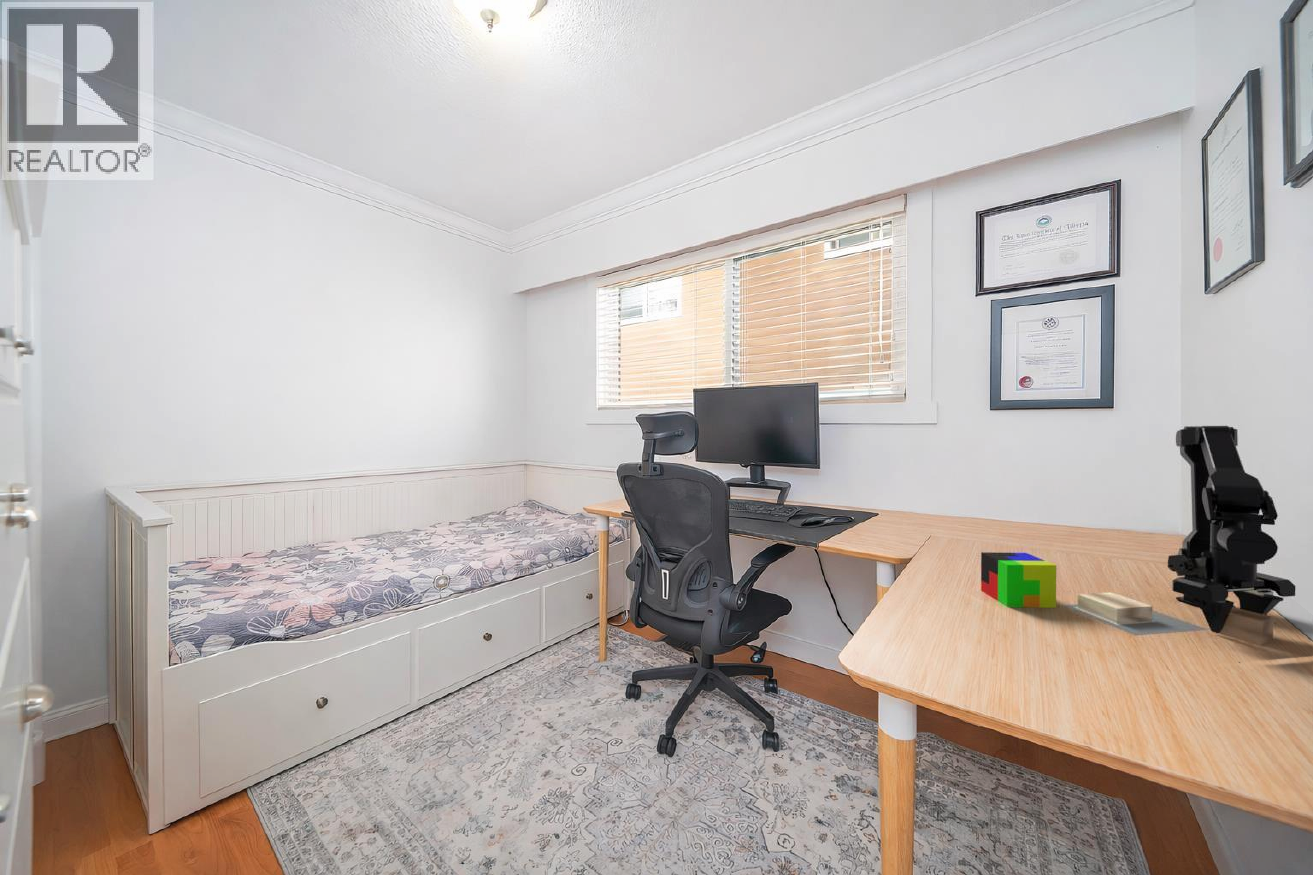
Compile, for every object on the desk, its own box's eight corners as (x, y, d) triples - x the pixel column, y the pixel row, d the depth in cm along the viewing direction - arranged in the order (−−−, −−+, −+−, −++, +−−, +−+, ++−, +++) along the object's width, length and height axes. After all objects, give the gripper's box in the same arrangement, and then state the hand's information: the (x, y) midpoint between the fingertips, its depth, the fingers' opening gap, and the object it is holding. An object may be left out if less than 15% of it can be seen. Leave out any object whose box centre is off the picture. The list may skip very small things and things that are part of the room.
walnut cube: (1232, 632, 93) (1232, 607, 93) (1272, 643, 89) (1273, 616, 88) (1219, 637, 91) (1220, 611, 91) (1260, 649, 87) (1260, 621, 87)
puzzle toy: (1025, 594, 115) (1025, 552, 115) (1055, 610, 105) (1056, 565, 105) (981, 593, 116) (981, 552, 116) (1006, 609, 106) (1007, 564, 106)
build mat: (1125, 603, 108) (1125, 600, 108) (1209, 632, 93) (1209, 629, 93) (1060, 607, 106) (1060, 605, 106) (1135, 638, 92) (1135, 635, 92)
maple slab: (1110, 605, 105) (1111, 592, 105) (1152, 620, 98) (1152, 606, 97) (1077, 608, 105) (1078, 594, 105) (1116, 623, 97) (1117, 608, 97)
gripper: (1222, 536, 100) (1220, 611, 100) (1141, 541, 98) (1140, 617, 98) (1299, 551, 89) (1296, 635, 89) (1210, 556, 87) (1208, 642, 87)
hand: (1231, 631), depth 91 cm, fingers open, 7 cm apart
